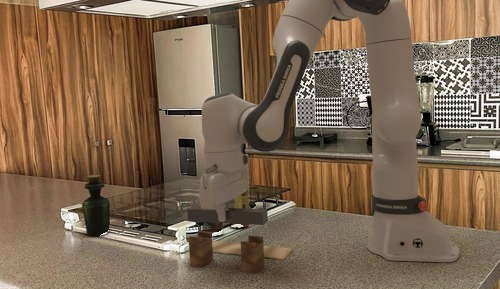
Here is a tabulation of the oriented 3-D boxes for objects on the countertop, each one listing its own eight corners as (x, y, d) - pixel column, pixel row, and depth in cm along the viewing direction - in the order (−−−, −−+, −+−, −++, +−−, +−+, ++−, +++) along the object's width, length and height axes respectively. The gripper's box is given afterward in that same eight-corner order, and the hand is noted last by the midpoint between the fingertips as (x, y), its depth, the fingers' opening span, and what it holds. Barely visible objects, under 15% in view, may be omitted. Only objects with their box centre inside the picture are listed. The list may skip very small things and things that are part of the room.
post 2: (264, 265, 123) (263, 236, 122) (255, 273, 118) (254, 243, 118) (250, 264, 125) (249, 235, 124) (241, 271, 120) (240, 242, 119)
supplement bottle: (226, 232, 152) (224, 195, 151) (218, 238, 146) (217, 200, 145) (208, 231, 154) (206, 194, 153) (199, 237, 148) (197, 199, 147)
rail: (268, 221, 120) (267, 209, 120) (263, 225, 118) (262, 212, 117) (194, 217, 128) (193, 206, 128) (188, 221, 125) (187, 209, 125)
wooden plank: (293, 250, 134) (293, 248, 134) (283, 260, 126) (283, 258, 126) (212, 242, 143) (212, 240, 143) (198, 251, 136) (198, 249, 136)
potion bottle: (84, 239, 151) (79, 179, 148) (84, 231, 158) (79, 175, 156) (112, 235, 153) (108, 176, 151) (111, 228, 161) (106, 172, 159)
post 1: (213, 259, 129) (211, 232, 128) (202, 267, 124) (201, 238, 123) (200, 258, 130) (199, 231, 129) (190, 265, 125) (188, 237, 124)
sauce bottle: (247, 229, 154) (244, 165, 152) (227, 229, 155) (224, 165, 153) (251, 223, 160) (249, 161, 158) (232, 223, 162) (229, 161, 159)
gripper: (215, 169, 110) (219, 231, 112) (251, 155, 129) (254, 208, 131) (190, 169, 113) (194, 230, 114) (229, 155, 132) (232, 207, 133)
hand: (227, 218), depth 123 cm, fingers closed on rail, 3 cm apart
